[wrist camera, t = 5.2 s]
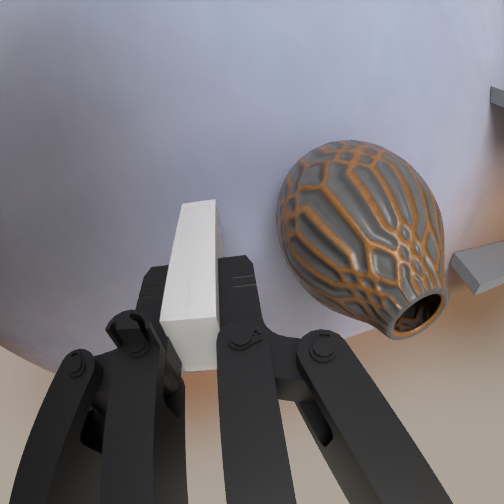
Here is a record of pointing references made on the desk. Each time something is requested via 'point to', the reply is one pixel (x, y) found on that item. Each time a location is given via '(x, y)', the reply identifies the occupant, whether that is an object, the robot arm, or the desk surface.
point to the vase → (365, 236)
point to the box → (482, 250)
